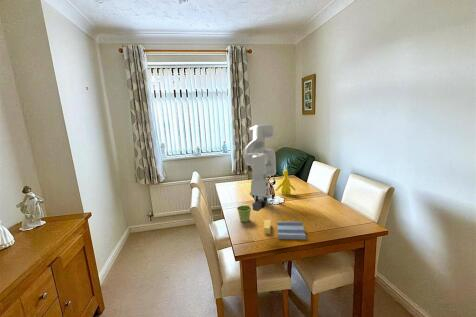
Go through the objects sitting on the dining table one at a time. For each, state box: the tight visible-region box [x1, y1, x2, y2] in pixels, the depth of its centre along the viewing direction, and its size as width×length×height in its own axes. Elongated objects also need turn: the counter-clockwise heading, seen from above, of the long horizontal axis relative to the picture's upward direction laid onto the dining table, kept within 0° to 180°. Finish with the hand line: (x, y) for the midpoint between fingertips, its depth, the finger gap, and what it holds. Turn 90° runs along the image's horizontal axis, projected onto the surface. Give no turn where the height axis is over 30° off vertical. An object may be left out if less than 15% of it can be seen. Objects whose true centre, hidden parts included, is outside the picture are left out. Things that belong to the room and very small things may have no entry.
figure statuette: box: [274, 169, 297, 196], centre depth 195 cm, size 18×8×22 cm, turn 86°
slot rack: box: [276, 221, 307, 240], centre depth 134 cm, size 16×15×2 cm
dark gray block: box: [251, 198, 268, 212], centre depth 134 cm, size 11×4×4 cm, turn 144°
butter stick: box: [263, 219, 272, 235], centre depth 139 cm, size 11×4×4 cm, turn 173°
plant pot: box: [236, 204, 252, 223], centre depth 152 cm, size 9×9×9 cm
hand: (260, 206), depth 135 cm, fingers closed on dark gray block, 3 cm apart
